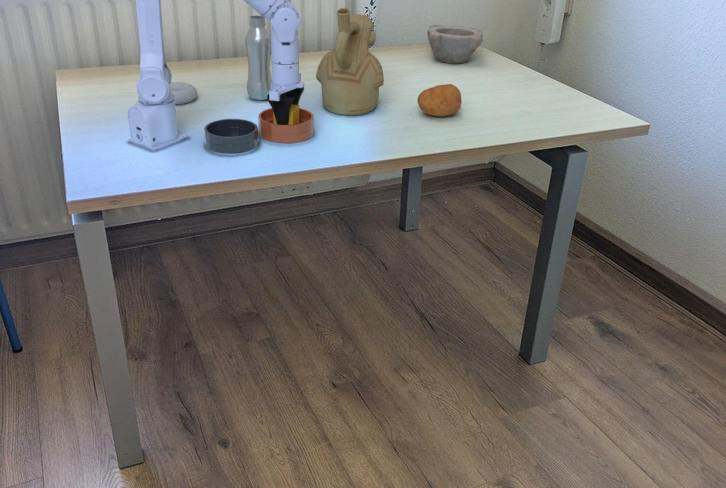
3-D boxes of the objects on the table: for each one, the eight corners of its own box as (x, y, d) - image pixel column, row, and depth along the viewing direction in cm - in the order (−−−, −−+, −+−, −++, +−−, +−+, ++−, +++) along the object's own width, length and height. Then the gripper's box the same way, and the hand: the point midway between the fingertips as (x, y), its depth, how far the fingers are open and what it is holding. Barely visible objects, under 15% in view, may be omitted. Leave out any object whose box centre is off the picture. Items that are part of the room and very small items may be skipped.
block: (292, 137, 146) (292, 111, 143) (273, 135, 147) (273, 109, 144) (299, 130, 150) (299, 105, 147) (280, 128, 151) (280, 102, 148)
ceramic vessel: (390, 100, 172) (397, -2, 160) (371, 125, 156) (376, 14, 143) (328, 92, 176) (329, -8, 163) (302, 116, 160) (301, 7, 147)
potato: (466, 120, 162) (470, 90, 158) (423, 123, 159) (426, 92, 155) (452, 107, 169) (456, 78, 165) (410, 110, 166) (413, 80, 163)
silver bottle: (260, 92, 173) (257, 12, 163) (278, 98, 170) (277, 17, 159) (241, 98, 169) (237, 16, 159) (260, 104, 165) (256, 21, 155)
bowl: (290, 150, 141) (290, 129, 139) (247, 136, 147) (247, 116, 145) (324, 134, 150) (324, 114, 148) (283, 121, 156) (282, 103, 153)
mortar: (478, 55, 215) (482, 25, 210) (479, 69, 200) (483, 38, 196) (426, 51, 217) (429, 22, 212) (423, 65, 202) (426, 34, 197)
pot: (233, 160, 136) (232, 141, 134) (194, 146, 141) (193, 128, 139) (269, 144, 144) (268, 126, 142) (231, 132, 149) (230, 115, 147)
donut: (148, 104, 163) (187, 107, 161) (146, 90, 161) (185, 93, 159) (167, 92, 171) (204, 95, 169) (165, 78, 169) (202, 82, 168)
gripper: (291, 72, 133) (292, 136, 140) (313, 54, 146) (313, 114, 152) (258, 68, 135) (261, 132, 142) (283, 51, 147) (284, 110, 154)
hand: (286, 122), depth 147 cm, fingers closed on block, 4 cm apart
